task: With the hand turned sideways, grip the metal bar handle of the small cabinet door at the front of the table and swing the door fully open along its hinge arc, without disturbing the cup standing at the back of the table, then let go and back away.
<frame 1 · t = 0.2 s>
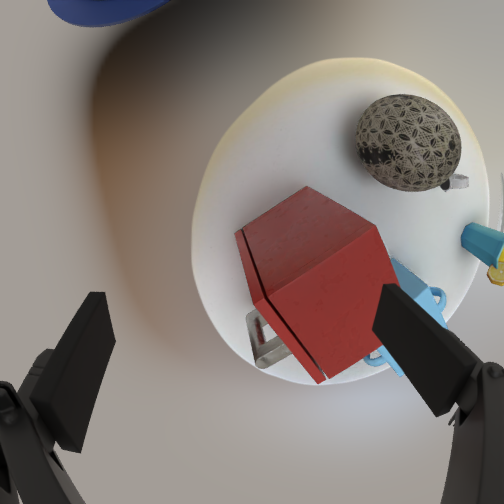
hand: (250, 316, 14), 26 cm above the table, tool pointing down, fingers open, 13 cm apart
red cabinet body: (297, 242, 41), on the table
cup: (471, 232, 46), on the table
wristwatch: (443, 178, 41), on the table
teapot: (385, 308, 48), on the table
decorative egg: (376, 139, 38), on the table
cabinet door: (256, 309, 34), point 9 cm above the table, hinge at 0.0°
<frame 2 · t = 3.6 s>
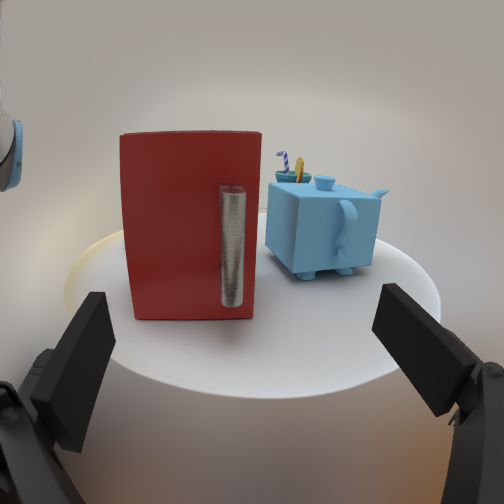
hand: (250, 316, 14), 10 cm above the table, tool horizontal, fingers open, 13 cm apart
cup: (287, 222, 66), on the table
teapot: (331, 264, 45), on the table
cabinet door: (187, 241, 25), point 9 cm above the table, hinge at 0.0°
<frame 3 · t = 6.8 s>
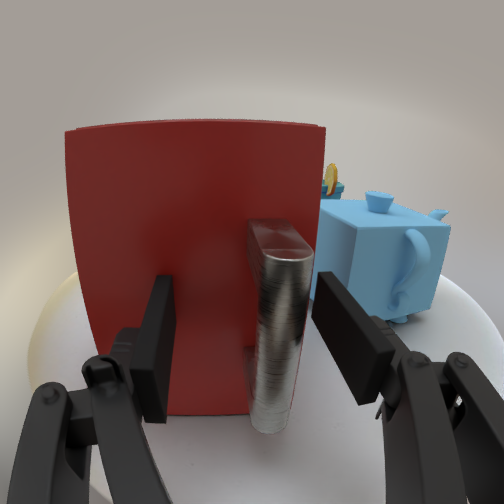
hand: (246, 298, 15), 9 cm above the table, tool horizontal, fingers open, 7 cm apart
red cabinet body: (203, 359, 24), on the table
cup: (313, 241, 54), on the table
teapot: (378, 305, 33), on the table
cabinet door: (191, 328, 13), point 9 cm above the table, hinge at -0.4°, touching gripper
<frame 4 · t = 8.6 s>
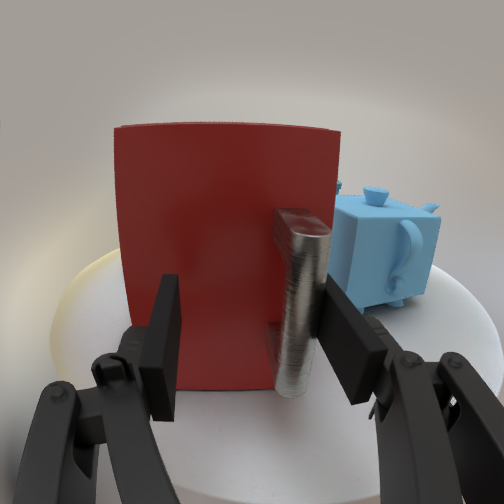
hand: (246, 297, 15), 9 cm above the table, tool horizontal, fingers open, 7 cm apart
teapot: (376, 291, 37), on the table
cabinet door: (225, 300, 16), point 9 cm above the table, hinge at 2.9°, touching gripper
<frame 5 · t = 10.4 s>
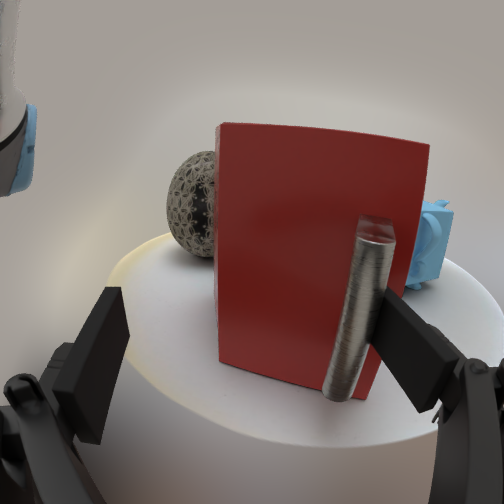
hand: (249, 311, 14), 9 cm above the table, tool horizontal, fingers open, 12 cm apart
red cabinet body: (276, 317, 30), on the table
teapot: (397, 277, 41), on the table
decorative egg: (208, 255, 45), on the table
cabinet door: (297, 293, 17), point 9 cm above the table, hinge at 31.7°, touching gripper
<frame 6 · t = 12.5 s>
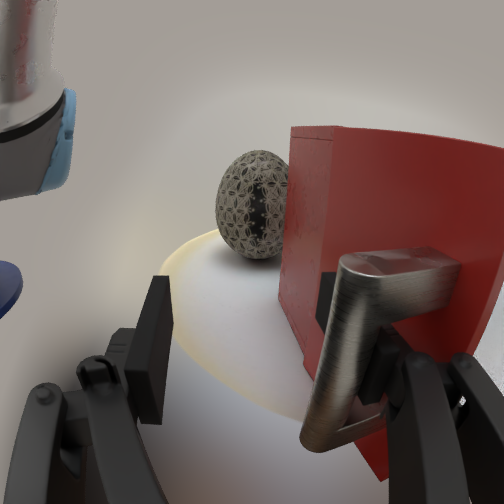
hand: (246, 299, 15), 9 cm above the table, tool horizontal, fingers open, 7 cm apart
red cabinet body: (345, 319, 30), on the table
decorative egg: (256, 257, 44), on the table
cabinet door: (340, 316, 14), point 9 cm above the table, hinge at 82.8°, touching gripper
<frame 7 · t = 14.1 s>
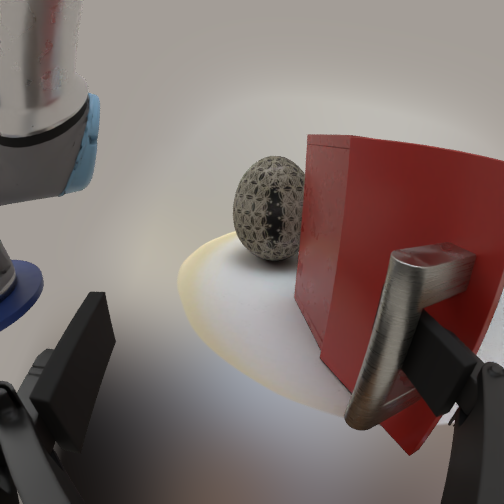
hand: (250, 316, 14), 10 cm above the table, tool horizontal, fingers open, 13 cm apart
red cabinet body: (358, 316, 31), on the table
decorative egg: (271, 258, 46), on the table
cabinet door: (370, 307, 16), point 9 cm above the table, hinge at 76.2°
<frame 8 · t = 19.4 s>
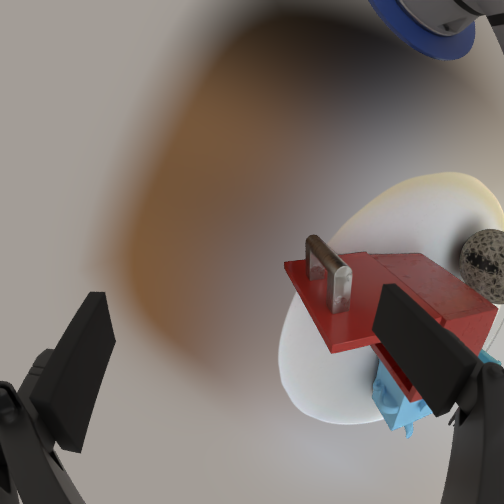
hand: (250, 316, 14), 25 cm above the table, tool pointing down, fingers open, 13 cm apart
red cabinet body: (389, 289, 45), on the table
cup: (466, 348, 55), on the table
teapot: (393, 373, 53), on the table
decorative egg: (467, 250, 45), on the table
cabinet door: (355, 270, 32), point 9 cm above the table, hinge at 83.9°
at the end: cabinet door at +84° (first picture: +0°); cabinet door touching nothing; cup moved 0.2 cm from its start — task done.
